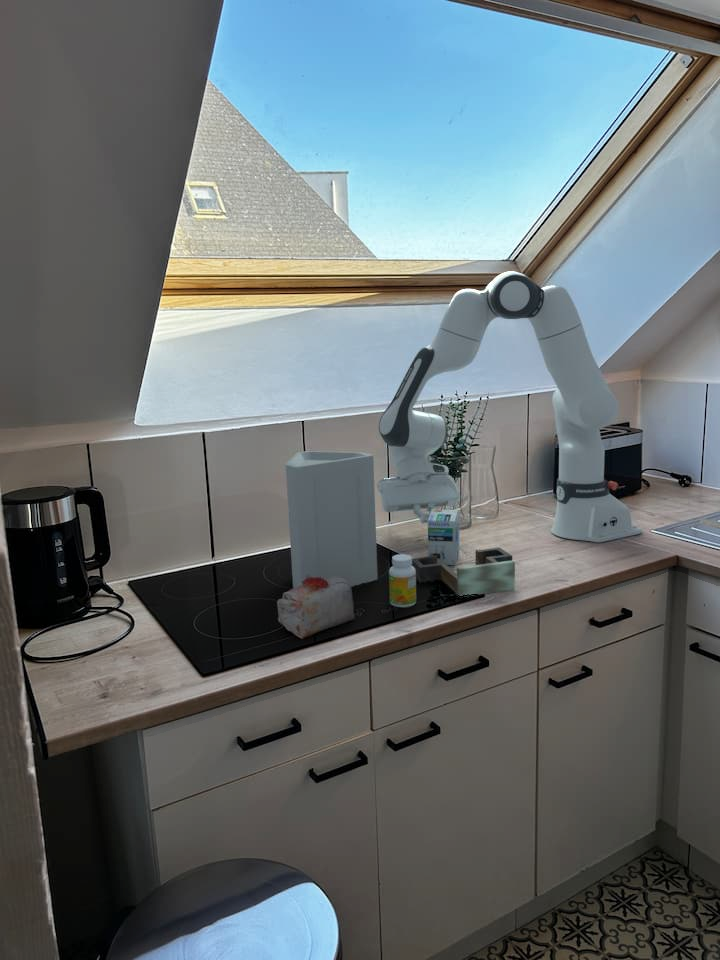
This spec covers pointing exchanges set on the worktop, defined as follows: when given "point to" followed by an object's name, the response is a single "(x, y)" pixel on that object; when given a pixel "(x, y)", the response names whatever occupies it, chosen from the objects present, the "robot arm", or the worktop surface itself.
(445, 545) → the light bulb box
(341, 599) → the food item
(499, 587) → the box
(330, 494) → the grey triangular bin
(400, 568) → the supplement bottle
